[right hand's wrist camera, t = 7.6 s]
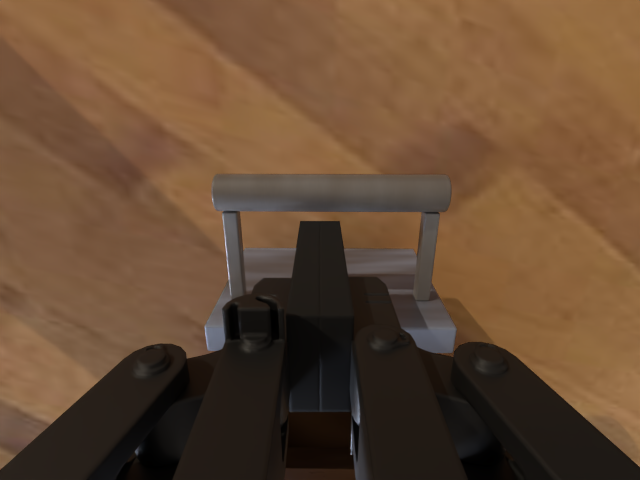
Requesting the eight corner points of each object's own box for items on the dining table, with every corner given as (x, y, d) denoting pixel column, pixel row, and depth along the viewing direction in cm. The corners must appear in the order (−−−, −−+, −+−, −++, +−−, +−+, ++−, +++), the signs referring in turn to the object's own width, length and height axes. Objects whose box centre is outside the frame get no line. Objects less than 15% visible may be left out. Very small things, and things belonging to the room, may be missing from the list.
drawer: (237, 152, 20) (184, 188, 12) (423, 152, 19) (480, 189, 12) (260, 439, 27) (236, 566, 20) (393, 441, 27) (418, 569, 20)
